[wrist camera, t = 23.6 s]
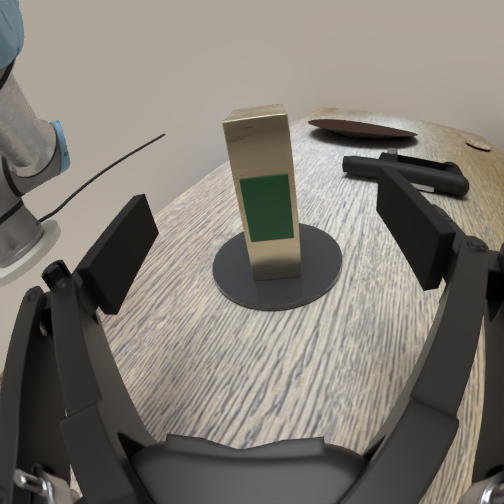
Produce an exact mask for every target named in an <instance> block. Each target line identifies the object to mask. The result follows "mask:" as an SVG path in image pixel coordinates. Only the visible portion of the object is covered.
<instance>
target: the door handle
mask: <svg viewBox="0 0 504 504" xmlns="http://www.w3.org/2000/svg"><path fill="white" fill-rule="evenodd" d="M390 165H391V166H392V167H393V168H395V169H396V170H397V171H398V172H399V173H400V174H401V175H402V176H403V177H404V178H405V179H406V180H408V181H409V182H410V183H411V184H412V185H413V186H414V187H415V188H416V189H420V190H425V191H430V192H434V190H438V191H443V192H447V193H451V194H455V195H459V196H463V195H465V194H467V192H468V191H469V182H468V180H467V179H466V178H465V177H464V176H463V174H462V172H461V170H460V168H459V167H458V165H456V164H455V163H452V162H445V163H439V162H434V161H429V160H424V159H419V158H414V157H408V156H403V155H397V149H396V148H389V149H388V152H387V153H384V152H382V153H381V155H380V157H379V159H375V158H368V157H360V156H344V158H343V164H342V168H343V172H347V173H349V174H351V175H357V176H364V177H370V178H376V179H378V173H379V166H390Z"/></svg>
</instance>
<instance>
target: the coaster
mask: <svg viewBox="0 0 504 504" xmlns="http://www.w3.org/2000/svg"><path fill="white" fill-rule="evenodd" d="M298 224H299V239H300V255H301V273H302V276H301V277H290V278H279V279H267V280H255V281H254V278H253V274H252V269H251V264H250V259H249V254H248V249H247V244H246V239H245V234H244V231H243V232H241V233H239V234H238V235H236V236H234V237H233V238H231V239H230V240H229V241H228V242H226V243H225V244H224V245H223V246H222V247H221V249H220V250H219V251H218V253H217V255H216V256H215V259H214V262H213V276H214V279H215V283H216V285H217V287H218V288H219V290H220V291H221V292H222V293H223V294H224V295H225V296H226V297H227V298H229V299H230V300H232V301H233V302H235V303H237V304H239V305H242V306H245V307H248V308H252V309H257V310H268V311H270V310H285V309H291V308H295V307H299V306H302V305H305V304H307V303H310V302H312V301H314V300H316V299H317V298H319V297H320V296H322V295H324V294H325V293H326V292H327V291H328V290H329V289H330V288H331V287H332V286H333V285H334V284H335V282H336V281H337V279H338V278H339V275H340V273H341V269H342V253H341V250H340V247H339V245H338V244H337V242H336V241H335V240H334V239H333V238H332V237H331V236H330V235H328V234H327V233H326V232H324V231H322V230H320V229H318V228H316V227H313V226H310V225H306V224H300V223H298Z"/></svg>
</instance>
